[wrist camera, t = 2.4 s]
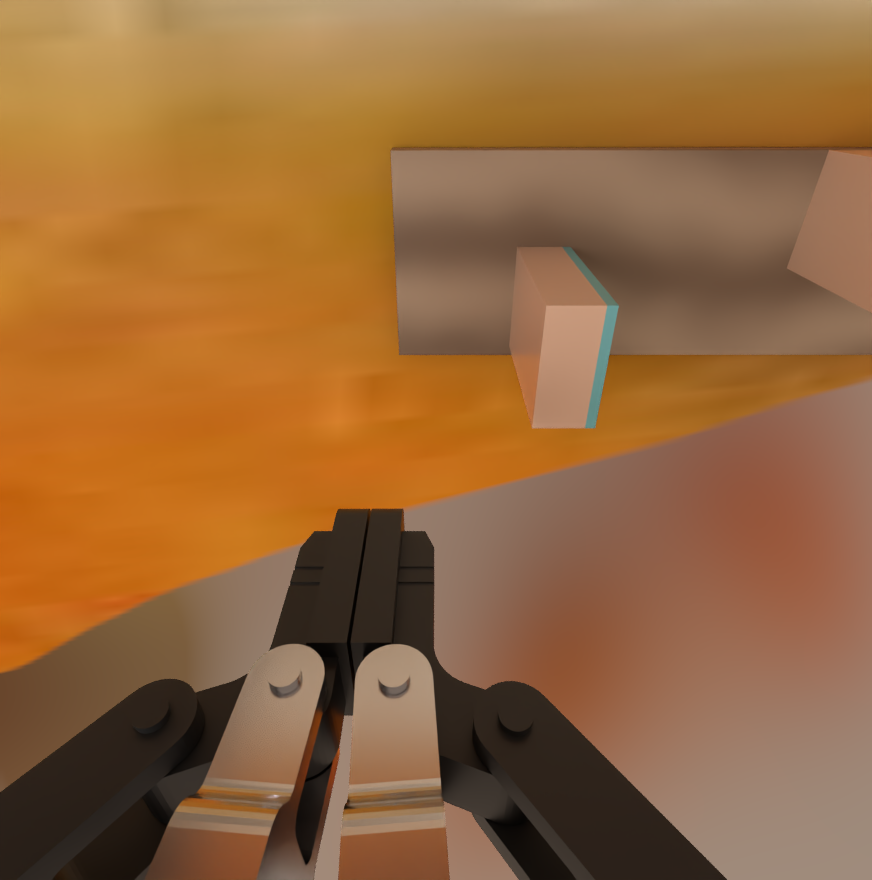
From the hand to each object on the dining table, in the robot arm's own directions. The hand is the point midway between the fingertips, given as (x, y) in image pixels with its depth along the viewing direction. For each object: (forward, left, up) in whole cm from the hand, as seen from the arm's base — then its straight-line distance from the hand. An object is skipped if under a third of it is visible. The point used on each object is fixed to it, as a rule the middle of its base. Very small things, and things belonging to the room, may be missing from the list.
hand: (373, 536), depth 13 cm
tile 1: (0, +6, -17) cm, 18 cm away
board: (-2, +13, -18) cm, 23 cm away
